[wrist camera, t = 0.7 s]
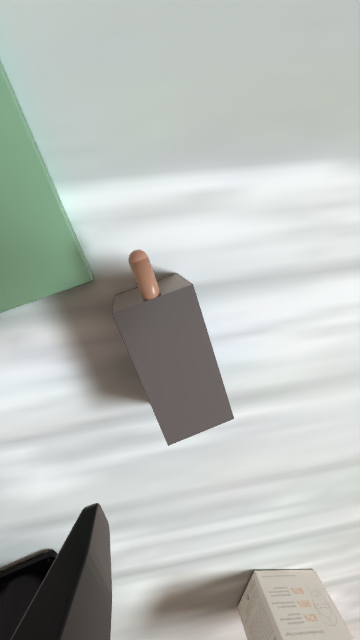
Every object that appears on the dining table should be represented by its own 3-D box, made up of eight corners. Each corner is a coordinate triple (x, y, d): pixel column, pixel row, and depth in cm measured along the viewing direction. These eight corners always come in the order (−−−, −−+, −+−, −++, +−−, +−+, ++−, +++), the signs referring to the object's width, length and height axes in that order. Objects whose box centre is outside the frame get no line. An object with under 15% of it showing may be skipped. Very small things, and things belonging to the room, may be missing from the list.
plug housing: (159, 403, 21) (168, 445, 17) (99, 258, 17) (91, 265, 13) (212, 383, 22) (233, 418, 17) (165, 236, 18) (178, 236, 14)
